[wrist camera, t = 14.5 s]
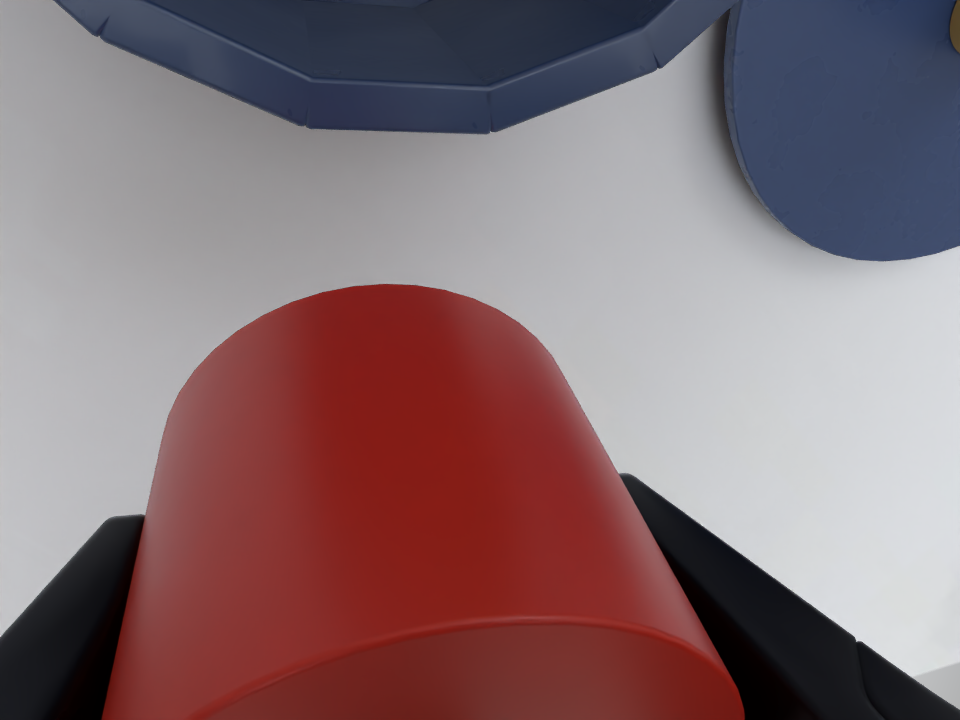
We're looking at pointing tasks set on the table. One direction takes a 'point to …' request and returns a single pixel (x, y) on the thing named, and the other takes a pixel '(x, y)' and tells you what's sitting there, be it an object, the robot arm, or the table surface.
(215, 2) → the saucepan
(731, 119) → the pan lid
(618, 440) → the table surface
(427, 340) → the red cylinder with peg
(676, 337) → the table surface
